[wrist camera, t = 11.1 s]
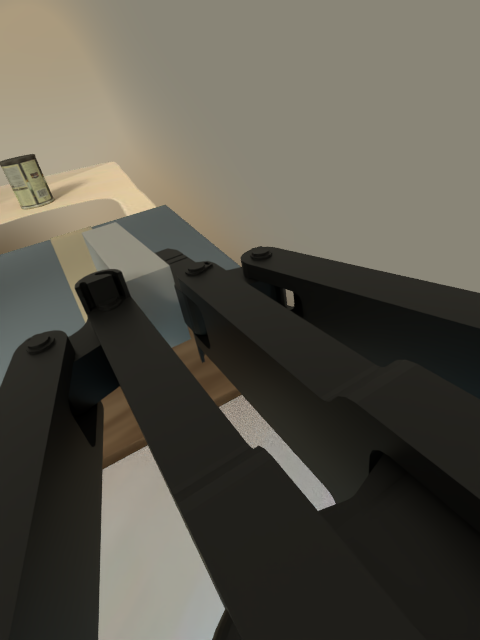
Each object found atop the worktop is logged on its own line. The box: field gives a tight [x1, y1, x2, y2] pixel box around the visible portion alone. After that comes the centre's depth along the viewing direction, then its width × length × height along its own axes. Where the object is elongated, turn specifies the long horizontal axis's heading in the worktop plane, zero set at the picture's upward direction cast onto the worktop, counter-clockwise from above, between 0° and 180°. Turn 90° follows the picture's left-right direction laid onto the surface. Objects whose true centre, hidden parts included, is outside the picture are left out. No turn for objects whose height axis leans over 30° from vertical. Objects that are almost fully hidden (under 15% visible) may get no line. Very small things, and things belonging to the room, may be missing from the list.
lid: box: [0, 205, 240, 386], centre depth 31 cm, size 18×20×1 cm
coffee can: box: [0, 154, 54, 209], centre depth 115 cm, size 10×10×14 cm
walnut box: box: [101, 326, 242, 469], centre depth 34 cm, size 18×20×9 cm
